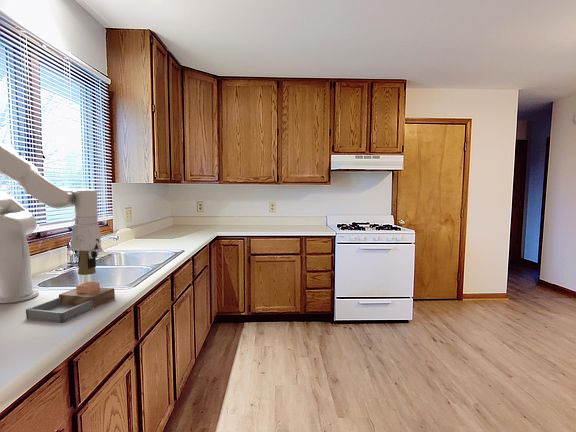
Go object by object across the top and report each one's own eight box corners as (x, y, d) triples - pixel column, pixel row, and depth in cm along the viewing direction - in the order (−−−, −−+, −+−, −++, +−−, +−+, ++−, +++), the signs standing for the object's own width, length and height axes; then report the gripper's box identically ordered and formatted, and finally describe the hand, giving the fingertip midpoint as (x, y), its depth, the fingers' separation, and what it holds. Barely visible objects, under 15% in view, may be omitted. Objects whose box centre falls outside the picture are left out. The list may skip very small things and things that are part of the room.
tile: (76, 292, 118) (76, 285, 117) (88, 288, 122) (87, 281, 122) (88, 293, 116) (87, 286, 116) (99, 289, 121) (99, 282, 121)
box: (26, 318, 105) (25, 309, 105) (59, 305, 116) (58, 297, 116) (62, 322, 102) (61, 313, 101) (92, 308, 113) (92, 300, 112)
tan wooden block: (59, 305, 116) (58, 294, 116) (83, 296, 126) (82, 285, 125) (92, 308, 113) (92, 297, 112) (114, 298, 122) (114, 288, 122)
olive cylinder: (92, 270, 135) (91, 243, 134) (98, 273, 131) (98, 245, 130) (75, 272, 130) (75, 245, 130) (81, 275, 127) (81, 247, 126)
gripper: (60, 220, 128) (61, 267, 129) (96, 223, 124) (97, 271, 125) (77, 219, 135) (77, 263, 136) (111, 221, 131) (112, 267, 132)
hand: (87, 267), depth 131 cm, fingers closed on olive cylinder, 3 cm apart
